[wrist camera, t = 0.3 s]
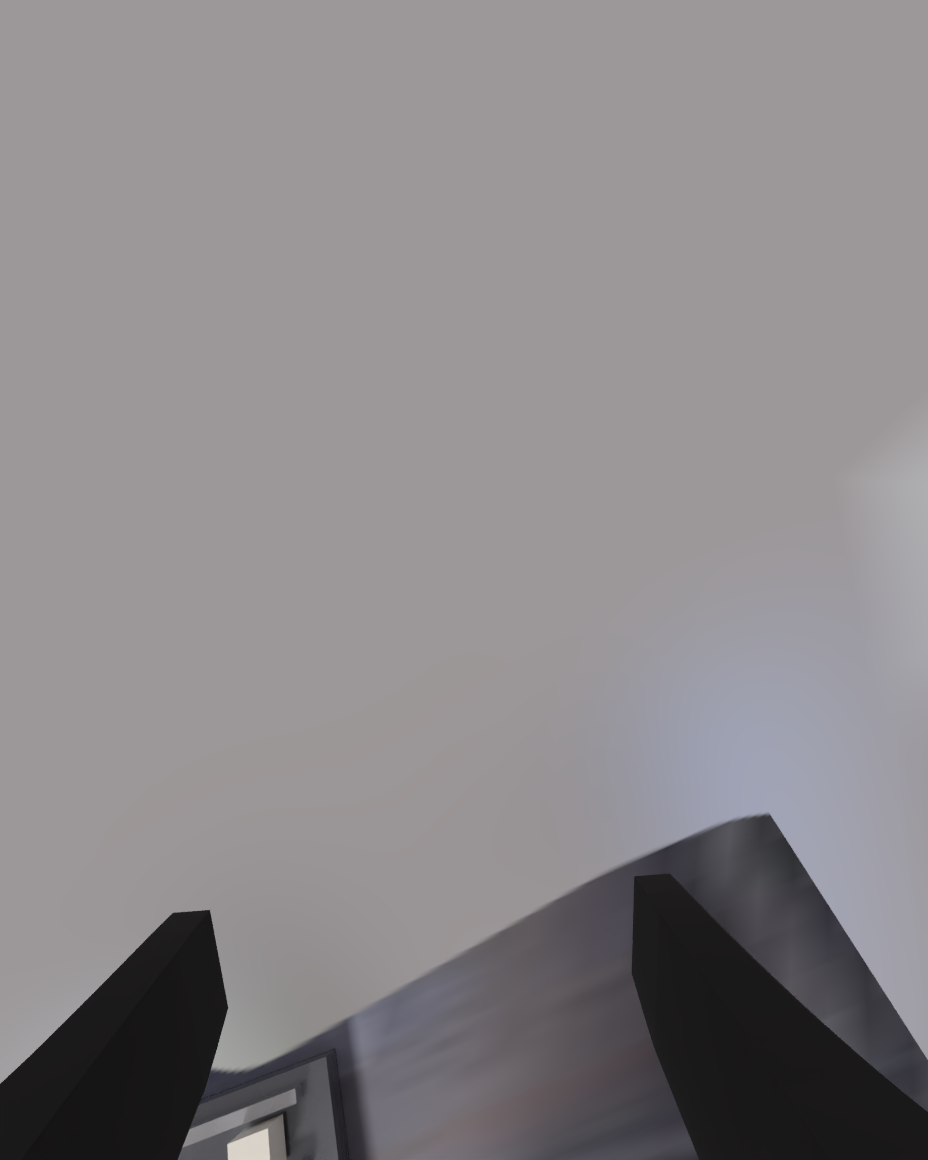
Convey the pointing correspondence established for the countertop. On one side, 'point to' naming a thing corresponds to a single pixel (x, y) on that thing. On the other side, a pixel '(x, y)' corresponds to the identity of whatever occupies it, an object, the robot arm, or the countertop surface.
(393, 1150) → the countertop surface
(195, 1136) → the panel
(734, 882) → the countertop surface
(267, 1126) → the slider knob
